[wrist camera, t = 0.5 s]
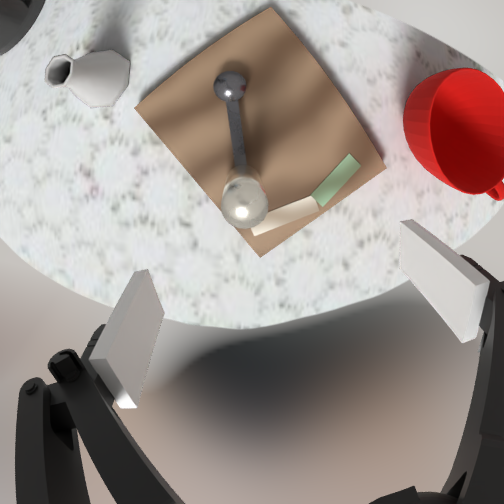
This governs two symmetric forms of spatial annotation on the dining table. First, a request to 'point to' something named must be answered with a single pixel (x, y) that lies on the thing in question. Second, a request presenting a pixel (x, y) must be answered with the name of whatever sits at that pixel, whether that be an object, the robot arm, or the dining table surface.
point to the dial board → (265, 127)
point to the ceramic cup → (459, 130)
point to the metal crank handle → (239, 162)
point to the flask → (91, 76)
